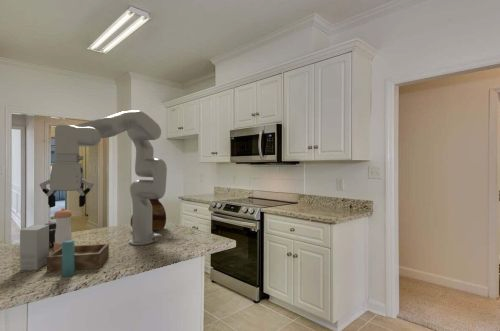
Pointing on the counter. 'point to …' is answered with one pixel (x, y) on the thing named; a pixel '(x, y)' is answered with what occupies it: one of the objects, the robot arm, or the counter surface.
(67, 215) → the salt shaker
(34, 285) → the counter surface
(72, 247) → the peg
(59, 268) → the box
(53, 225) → the battery charger
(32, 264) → the skincare box
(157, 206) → the ceramic pitcher
